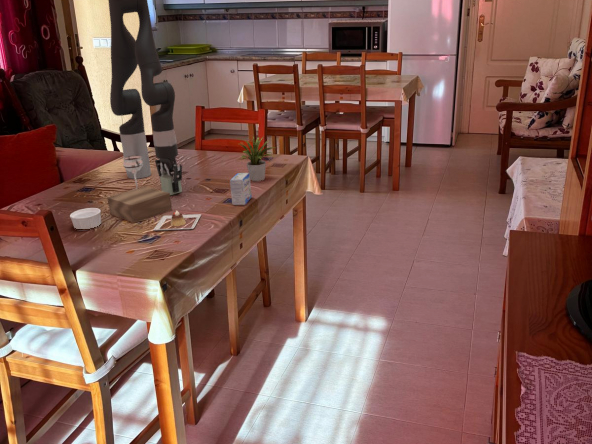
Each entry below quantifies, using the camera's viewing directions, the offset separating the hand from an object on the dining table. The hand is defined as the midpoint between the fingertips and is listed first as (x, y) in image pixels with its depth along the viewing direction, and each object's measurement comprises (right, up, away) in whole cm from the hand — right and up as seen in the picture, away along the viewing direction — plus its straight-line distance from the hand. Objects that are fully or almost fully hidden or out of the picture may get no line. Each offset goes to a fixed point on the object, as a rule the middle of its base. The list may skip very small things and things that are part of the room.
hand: (171, 190), depth 201 cm
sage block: (0, -1, 0) cm, 1 cm away
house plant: (+29, +4, +9) cm, 30 cm away
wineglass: (-14, 0, +6) cm, 15 cm away
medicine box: (+26, -4, -12) cm, 29 cm away
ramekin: (-20, -12, -26) cm, 35 cm away
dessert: (+8, -12, -28) cm, 32 cm away
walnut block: (-6, -8, -16) cm, 19 cm away
